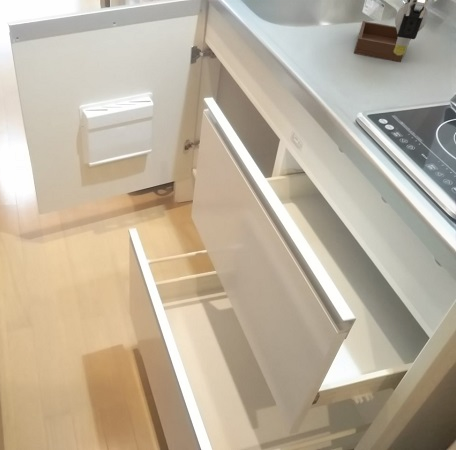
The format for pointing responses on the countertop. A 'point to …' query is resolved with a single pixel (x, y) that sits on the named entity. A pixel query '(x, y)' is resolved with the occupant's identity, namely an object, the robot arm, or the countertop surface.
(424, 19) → the light bulb
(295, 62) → the countertop surface
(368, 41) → the tray
